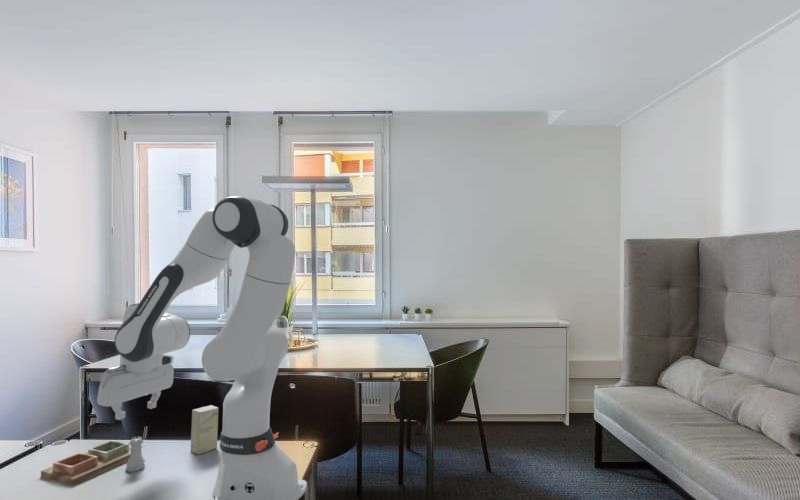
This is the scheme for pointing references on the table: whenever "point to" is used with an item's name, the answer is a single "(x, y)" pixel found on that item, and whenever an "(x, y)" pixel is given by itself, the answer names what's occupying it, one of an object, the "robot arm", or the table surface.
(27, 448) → the table surface
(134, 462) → the rook chess piece
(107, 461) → the board
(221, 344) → the robot arm
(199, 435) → the skincare box
